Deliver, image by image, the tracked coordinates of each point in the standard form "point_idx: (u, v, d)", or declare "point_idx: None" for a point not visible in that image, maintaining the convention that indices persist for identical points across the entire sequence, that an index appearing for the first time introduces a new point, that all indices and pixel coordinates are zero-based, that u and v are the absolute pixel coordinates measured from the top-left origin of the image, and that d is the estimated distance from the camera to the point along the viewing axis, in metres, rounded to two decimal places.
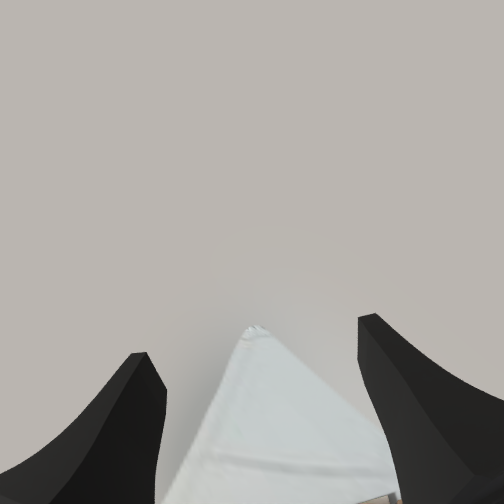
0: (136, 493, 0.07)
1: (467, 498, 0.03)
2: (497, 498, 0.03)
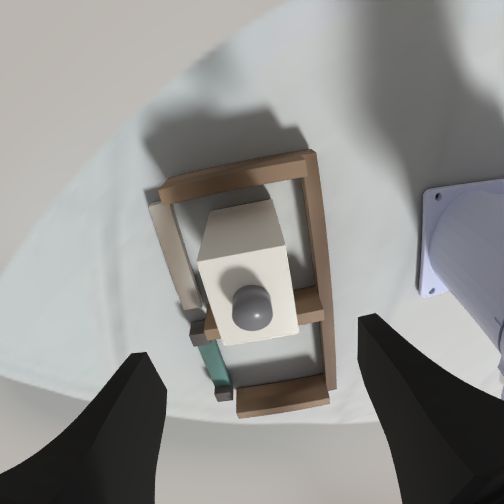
0: (136, 493, 0.07)
1: (467, 498, 0.03)
2: (497, 498, 0.03)
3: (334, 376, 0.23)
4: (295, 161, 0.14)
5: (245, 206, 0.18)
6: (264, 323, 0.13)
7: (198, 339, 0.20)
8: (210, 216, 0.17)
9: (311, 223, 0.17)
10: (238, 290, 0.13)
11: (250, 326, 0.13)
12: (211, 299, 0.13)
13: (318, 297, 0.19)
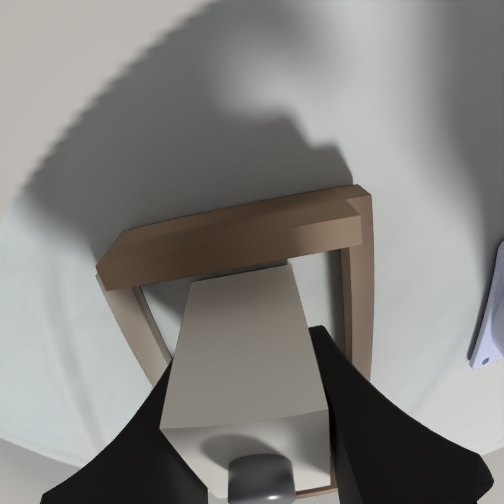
0: (194, 496, 0.07)
1: None
2: None
3: None
4: (342, 218, 0.08)
5: (247, 278, 0.11)
6: None
7: None
8: (190, 296, 0.10)
9: (353, 305, 0.10)
10: (238, 461, 0.06)
11: None
12: (193, 464, 0.07)
13: None
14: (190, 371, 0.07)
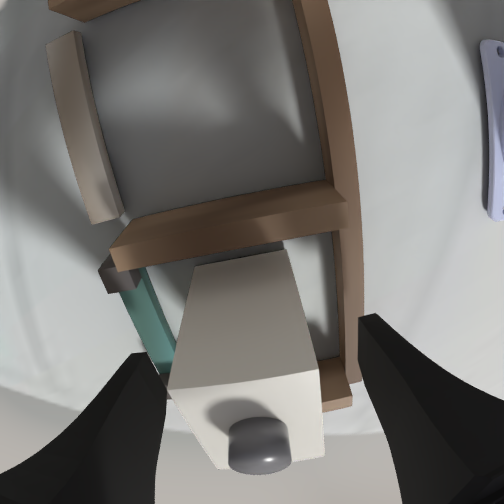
0: (136, 493, 0.07)
1: (467, 498, 0.03)
2: (496, 498, 0.03)
3: None
4: None
5: (246, 261, 0.12)
6: (278, 468, 0.07)
7: (113, 278, 0.11)
8: (194, 278, 0.11)
9: (311, 37, 0.08)
10: (237, 424, 0.07)
11: (256, 471, 0.07)
12: (196, 430, 0.08)
13: (333, 189, 0.10)
14: (195, 340, 0.08)
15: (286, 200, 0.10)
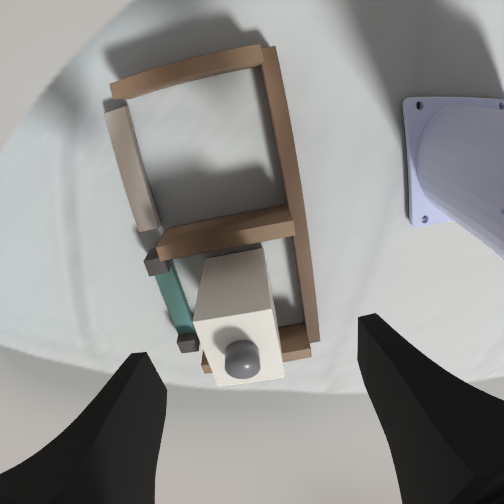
0: (136, 493, 0.07)
1: (467, 498, 0.03)
2: (496, 498, 0.03)
3: (316, 323, 0.20)
4: (249, 46, 0.12)
5: (238, 255, 0.19)
6: (253, 373, 0.14)
7: (153, 266, 0.18)
8: (205, 265, 0.19)
9: (274, 120, 0.15)
10: (230, 344, 0.14)
11: (241, 375, 0.14)
12: (206, 351, 0.15)
13: (288, 212, 0.17)
14: (207, 298, 0.15)
15: (259, 219, 0.17)
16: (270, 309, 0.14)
